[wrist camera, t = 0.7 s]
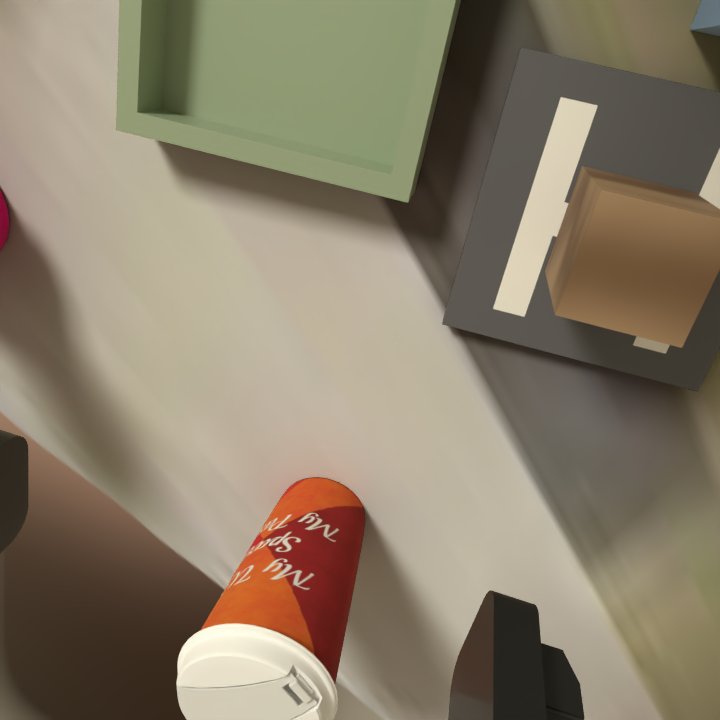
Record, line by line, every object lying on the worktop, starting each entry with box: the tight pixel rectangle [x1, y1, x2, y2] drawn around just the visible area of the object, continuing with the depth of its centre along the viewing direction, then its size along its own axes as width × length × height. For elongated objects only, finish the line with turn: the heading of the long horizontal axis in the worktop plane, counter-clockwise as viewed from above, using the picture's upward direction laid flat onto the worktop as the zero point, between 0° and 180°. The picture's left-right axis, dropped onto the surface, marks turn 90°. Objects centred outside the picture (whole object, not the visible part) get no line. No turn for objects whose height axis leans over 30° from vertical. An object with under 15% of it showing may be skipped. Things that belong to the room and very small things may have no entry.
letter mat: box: [442, 48, 720, 392], centre depth 30 cm, size 13×13×1 cm
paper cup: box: [177, 477, 365, 720], centre depth 35 cm, size 8×8×14 cm
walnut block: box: [545, 166, 720, 348], centre depth 27 cm, size 5×5×6 cm
